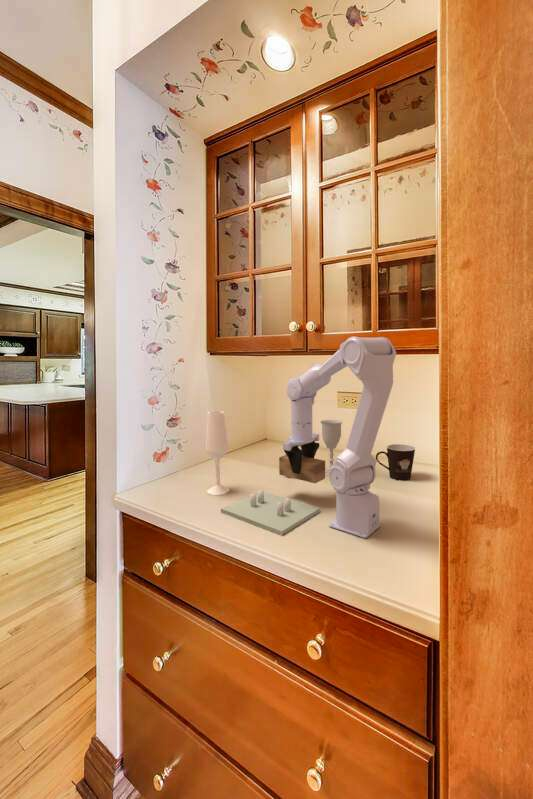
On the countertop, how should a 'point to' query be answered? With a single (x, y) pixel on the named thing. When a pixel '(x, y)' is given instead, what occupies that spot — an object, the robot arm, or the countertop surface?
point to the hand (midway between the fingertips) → (302, 470)
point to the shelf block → (303, 469)
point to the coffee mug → (399, 461)
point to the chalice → (331, 437)
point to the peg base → (271, 511)
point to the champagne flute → (216, 445)
